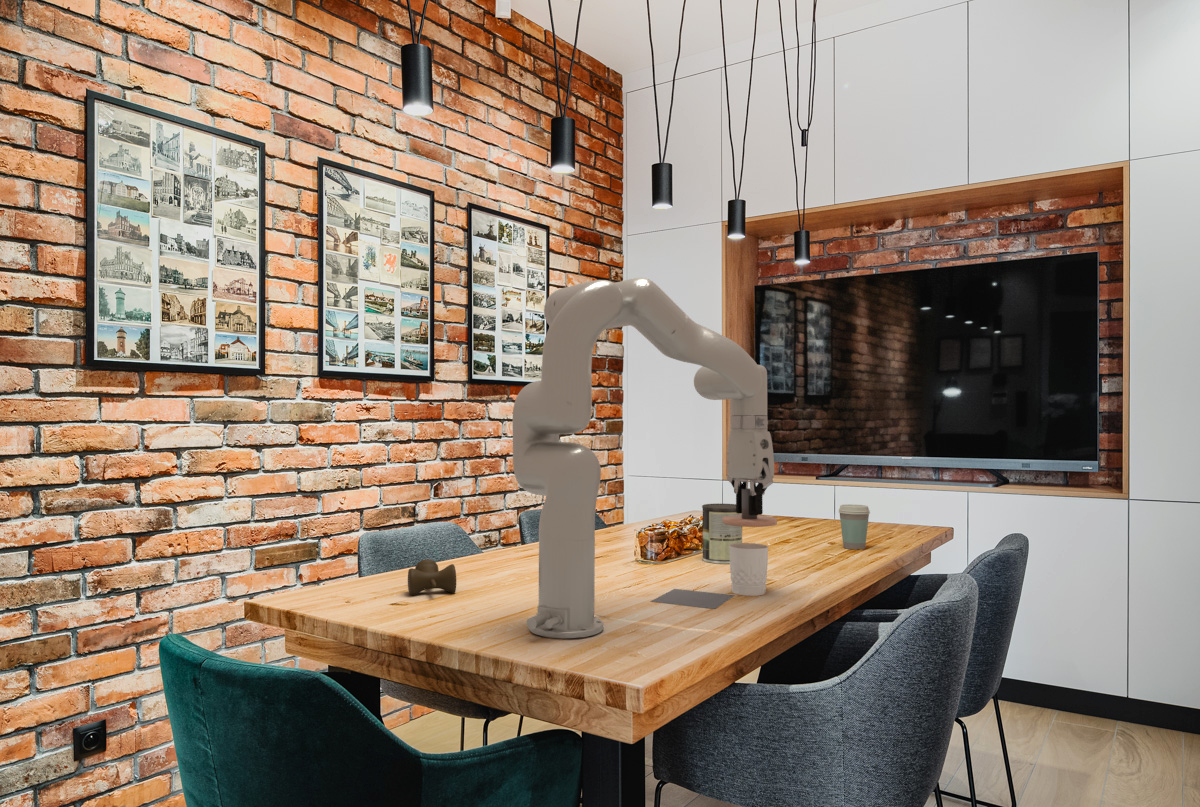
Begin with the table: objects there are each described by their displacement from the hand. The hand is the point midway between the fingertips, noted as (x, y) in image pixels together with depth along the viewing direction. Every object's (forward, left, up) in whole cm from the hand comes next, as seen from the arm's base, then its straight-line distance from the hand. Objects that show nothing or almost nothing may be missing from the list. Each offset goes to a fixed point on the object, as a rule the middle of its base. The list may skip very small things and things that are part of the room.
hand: (749, 513), depth 160 cm
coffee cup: (+73, -10, -17) cm, 75 cm away
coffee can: (+36, +17, -17) cm, 43 cm away
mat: (-11, +8, -17) cm, 22 cm away
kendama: (-27, +61, -17) cm, 69 cm away
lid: (0, 0, -2) cm, 2 cm away
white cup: (0, 0, -17) cm, 17 cm away
